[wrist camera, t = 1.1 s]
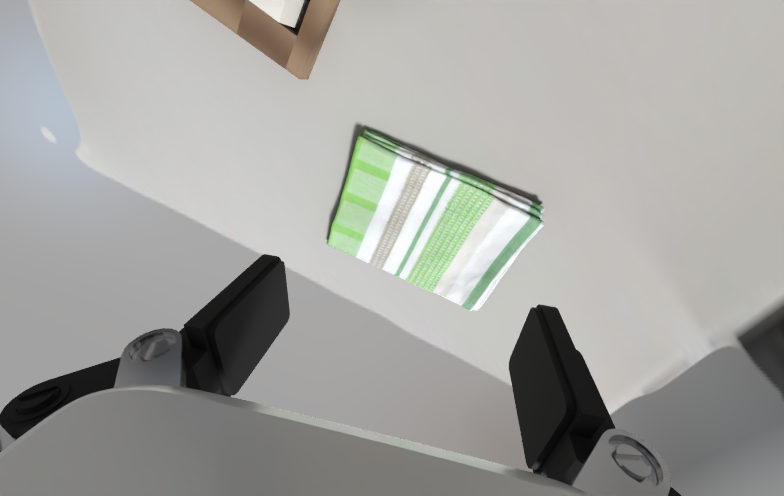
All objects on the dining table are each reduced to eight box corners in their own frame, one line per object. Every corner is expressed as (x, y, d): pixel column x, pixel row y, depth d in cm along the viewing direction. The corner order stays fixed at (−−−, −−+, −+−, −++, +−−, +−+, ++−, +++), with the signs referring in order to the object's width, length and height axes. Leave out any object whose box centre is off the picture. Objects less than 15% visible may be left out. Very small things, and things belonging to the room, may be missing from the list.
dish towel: (474, 306, 44) (475, 322, 41) (328, 243, 43) (318, 255, 40) (547, 204, 35) (555, 216, 32) (365, 124, 34) (356, 128, 31)
